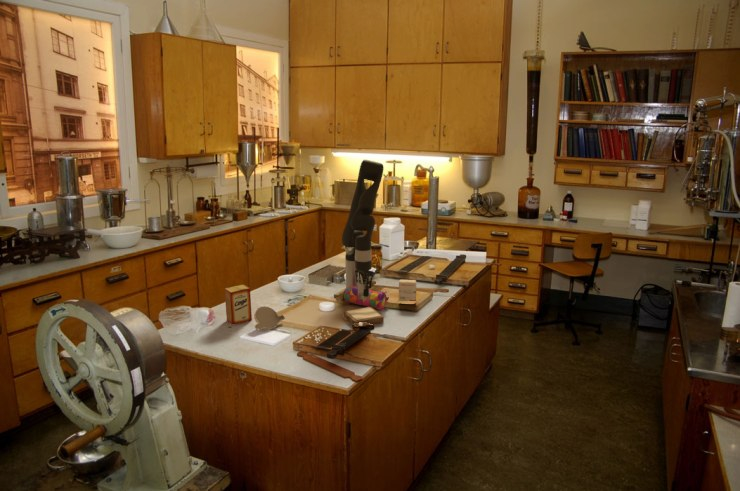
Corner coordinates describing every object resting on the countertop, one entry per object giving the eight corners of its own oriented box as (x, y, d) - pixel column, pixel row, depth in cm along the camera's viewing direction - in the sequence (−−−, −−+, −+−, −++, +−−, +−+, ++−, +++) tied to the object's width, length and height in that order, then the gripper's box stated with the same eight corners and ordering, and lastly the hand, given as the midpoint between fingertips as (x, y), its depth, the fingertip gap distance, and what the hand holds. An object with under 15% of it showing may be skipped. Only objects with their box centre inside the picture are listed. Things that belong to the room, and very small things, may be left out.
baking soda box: (232, 325, 254) (230, 291, 250) (226, 320, 260) (224, 287, 255) (251, 320, 260) (249, 287, 256) (245, 316, 265) (243, 283, 261)
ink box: (416, 301, 283) (416, 279, 280) (415, 305, 278) (416, 282, 275) (398, 301, 284) (399, 278, 281) (398, 304, 279) (398, 282, 276)
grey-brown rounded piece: (261, 332, 244) (251, 308, 245) (252, 337, 250) (242, 314, 251) (287, 322, 255) (278, 299, 256) (278, 327, 260) (269, 305, 262)
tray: (343, 317, 263) (343, 310, 262) (370, 312, 269) (370, 306, 268) (355, 328, 251) (355, 321, 250) (383, 322, 257) (383, 316, 256)
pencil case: (390, 306, 277) (390, 289, 275) (381, 312, 269) (381, 294, 267) (352, 299, 287) (351, 282, 285) (342, 304, 279) (342, 287, 277)
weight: (356, 296, 258) (356, 279, 256) (366, 295, 260) (366, 278, 258) (360, 300, 254) (360, 283, 252) (370, 298, 256) (370, 281, 254)
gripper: (377, 261, 248) (377, 298, 252) (364, 253, 260) (364, 288, 265) (362, 263, 245) (362, 300, 249) (349, 255, 257) (349, 290, 262)
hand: (363, 294), depth 257 cm, fingers closed on weight, 5 cm apart
